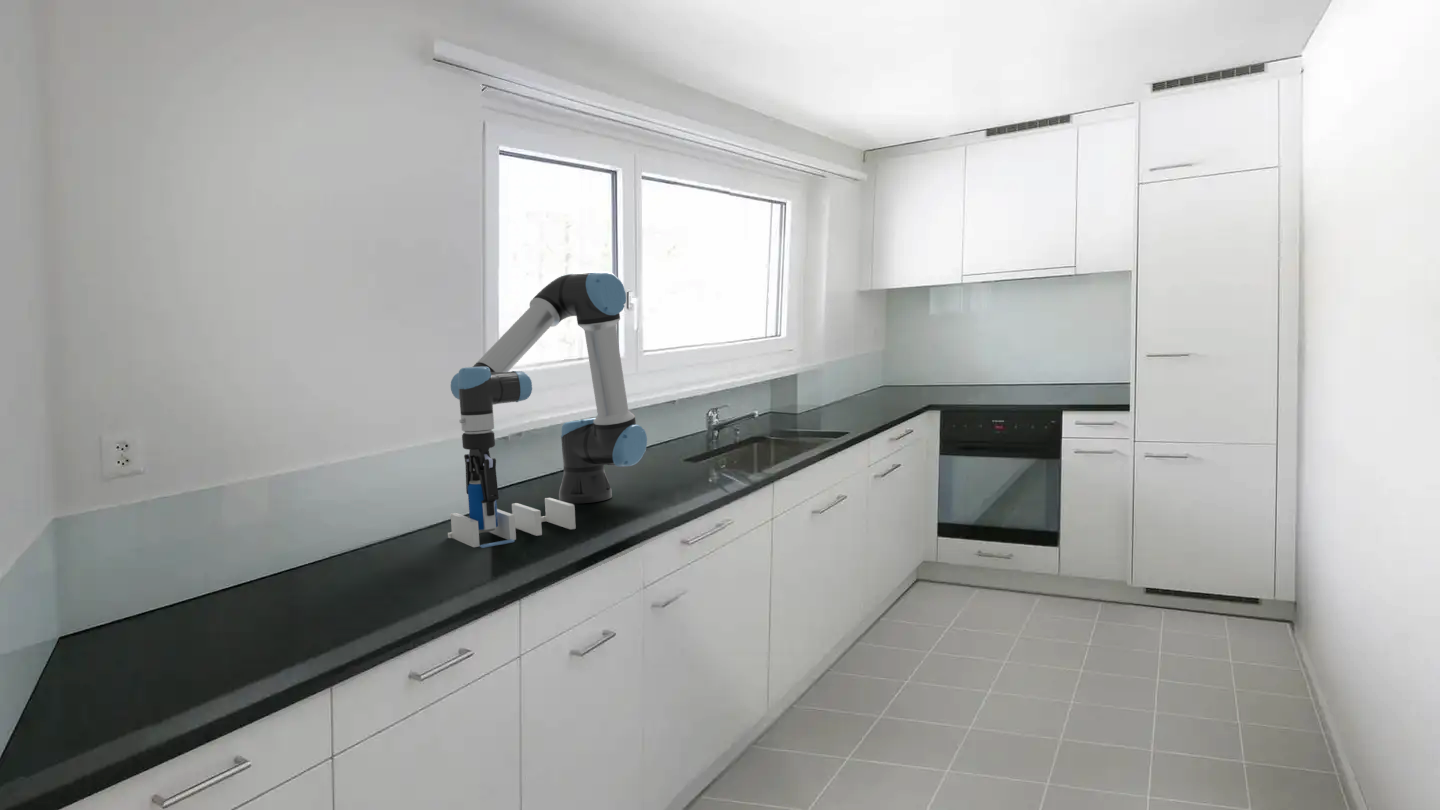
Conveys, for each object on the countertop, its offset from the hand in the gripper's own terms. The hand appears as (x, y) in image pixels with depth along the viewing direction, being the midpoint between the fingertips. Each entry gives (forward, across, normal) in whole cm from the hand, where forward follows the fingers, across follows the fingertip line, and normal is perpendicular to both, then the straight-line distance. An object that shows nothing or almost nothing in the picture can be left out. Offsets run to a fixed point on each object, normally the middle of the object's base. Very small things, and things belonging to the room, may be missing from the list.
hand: (484, 526), depth 234 cm
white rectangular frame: (+3, -1, +8) cm, 9 cm away
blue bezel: (+3, +7, 0) cm, 8 cm away
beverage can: (+1, 0, 0) cm, 1 cm away
